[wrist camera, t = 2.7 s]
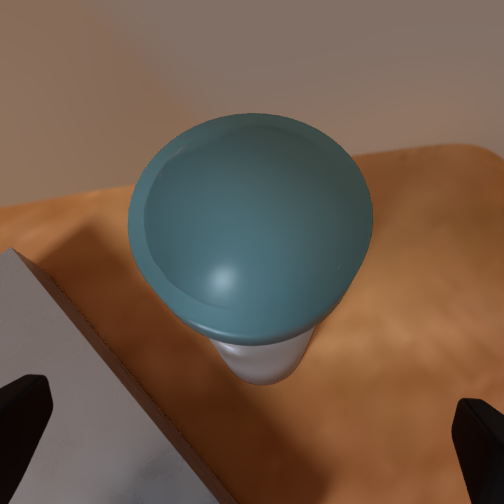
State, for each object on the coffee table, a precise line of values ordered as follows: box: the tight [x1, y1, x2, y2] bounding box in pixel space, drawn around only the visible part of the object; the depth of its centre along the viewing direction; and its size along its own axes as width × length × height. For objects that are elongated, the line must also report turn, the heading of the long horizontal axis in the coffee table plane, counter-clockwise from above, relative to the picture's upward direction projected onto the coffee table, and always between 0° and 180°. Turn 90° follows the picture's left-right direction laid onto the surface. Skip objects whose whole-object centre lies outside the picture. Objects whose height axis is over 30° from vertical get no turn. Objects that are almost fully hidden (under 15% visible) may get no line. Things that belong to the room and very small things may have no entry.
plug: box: [128, 113, 373, 385], centre depth 14 cm, size 5×5×13 cm
